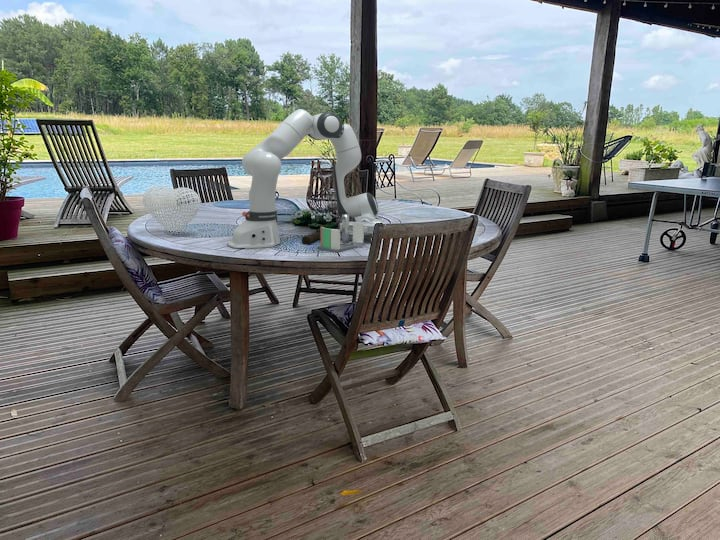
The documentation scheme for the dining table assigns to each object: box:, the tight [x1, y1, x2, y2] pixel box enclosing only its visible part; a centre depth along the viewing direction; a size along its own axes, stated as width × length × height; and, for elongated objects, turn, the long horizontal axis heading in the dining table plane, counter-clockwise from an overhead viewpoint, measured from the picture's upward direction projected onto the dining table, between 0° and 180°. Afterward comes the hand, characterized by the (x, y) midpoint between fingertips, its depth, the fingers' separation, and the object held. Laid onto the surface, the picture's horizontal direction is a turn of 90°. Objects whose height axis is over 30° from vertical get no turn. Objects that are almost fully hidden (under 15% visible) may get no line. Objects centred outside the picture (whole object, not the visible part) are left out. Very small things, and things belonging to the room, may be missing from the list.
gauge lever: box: [336, 214, 365, 244], centre depth 208 cm, size 15×9×12 cm, turn 169°
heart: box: [142, 185, 201, 233], centre depth 233 cm, size 28×16×22 cm, turn 65°
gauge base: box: [316, 226, 358, 254], centre depth 212 cm, size 15×11×9 cm
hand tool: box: [301, 228, 321, 245], centre depth 226 cm, size 19×4×5 cm, turn 158°
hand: (359, 230), depth 216 cm, fingers closed
